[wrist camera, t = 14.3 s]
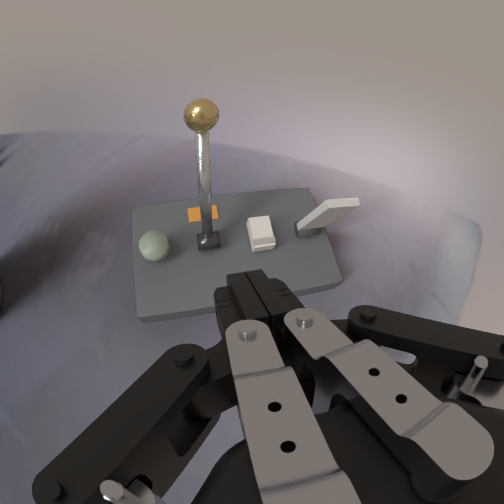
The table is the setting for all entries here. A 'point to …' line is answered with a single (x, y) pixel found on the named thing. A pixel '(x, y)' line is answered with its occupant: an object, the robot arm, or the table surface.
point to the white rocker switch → (260, 233)
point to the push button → (154, 246)
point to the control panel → (226, 251)
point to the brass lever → (203, 166)
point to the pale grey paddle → (324, 216)
